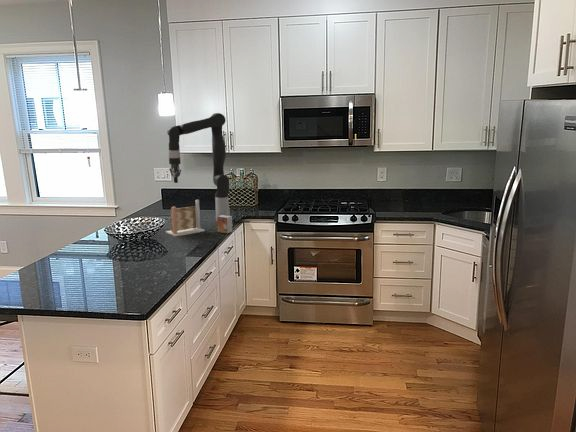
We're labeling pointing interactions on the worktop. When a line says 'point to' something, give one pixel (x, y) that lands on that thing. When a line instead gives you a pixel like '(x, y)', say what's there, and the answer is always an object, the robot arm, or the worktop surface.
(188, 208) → the panel
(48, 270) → the worktop surface
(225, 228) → the small box
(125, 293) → the worktop surface
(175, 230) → the gate frame
